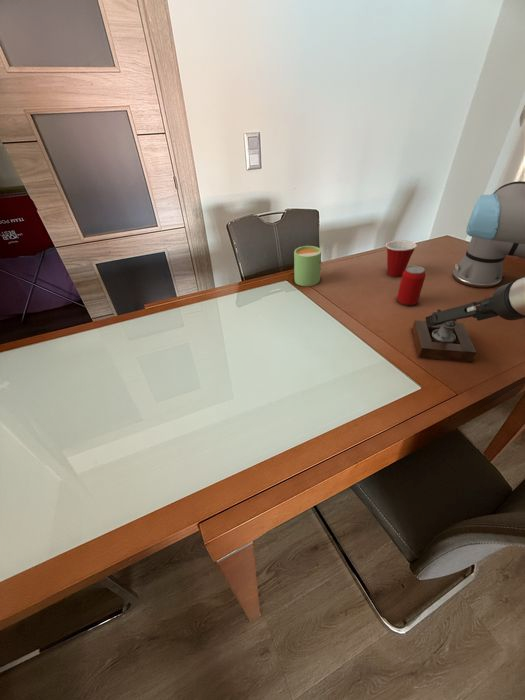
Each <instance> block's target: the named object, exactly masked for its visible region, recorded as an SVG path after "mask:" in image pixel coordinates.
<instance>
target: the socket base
mask: <svg viewBox="0 0 525 700" xmlns="http://www.w3.org/2000/svg"><path fill="white" fill-rule="evenodd" d="M455 324H456V327H455V328H453V331H452V333H454V334H455V336H456V339H455V341H453V342H452V343H438V342H432V338H433V337H432V332H433V331H434V330H437V329H440V327H441V324H440V325H436V326H433V327H428V328H427V323H426V320H416V319H415V320H414V321H413V324H412V328H411V331H412V336H413V341H414V345H415V348H416V352H417V357H418V358H419V359H431V360H443V361H444V360H445V361H453V362H463V363H464V362H465V363H473V360H474V358H475V356H476V354H477V349H476V348H475V347H474V344H473V341H472V339H471V337H470V335H469V332H468V330H467V328H466V326H465V324H464V322H456V323H455ZM431 337H432V338H431Z"/></svg>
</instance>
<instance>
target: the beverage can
mask: <svg viewBox="0 0 525 700" xmlns="http://www.w3.org/2000/svg"><path fill="white" fill-rule="evenodd" d="M425 279H426V272H425V268H424V267H422V266H421V265H416V264H415V265H412V264H411V265H407V267H406V269H405V271H404V272H403V275H402V276H401V278H400V283H399V288H398V292H397V296H396V300H397V301H398V302H399V303H400V304H402V305H404V306H411V305H416V304H417V303H418V302H419V299H420V295H421V292H422V289H423V286H424V282H425Z"/></svg>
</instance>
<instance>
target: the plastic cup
mask: <svg viewBox="0 0 525 700" xmlns="http://www.w3.org/2000/svg"><path fill="white" fill-rule="evenodd" d="M417 247H418V245H417V242H415V241H411V240H401V239H400V240H392V241H389V242H386V243H385V248H386V255H387V257H386V266H387V268H386V269H387V270H386V272H387V275H388V276H390V277H394V278H399V277H402V275H403V272H404V271H405V269H406V268H407V267H408V266H409V262H410V260H411V257H412V255H413V254H414V251H415V249H416V248H417Z"/></svg>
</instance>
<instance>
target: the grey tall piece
mask: <svg viewBox="0 0 525 700" xmlns="http://www.w3.org/2000/svg"><path fill="white" fill-rule="evenodd" d="M455 323H457V320H453V321H448V322H446V323H443V324H441V327H440V329H437V330H434V331H433V332H432V339H431V341H432V342H438V343H451V344H452V342H453V341H455V339H456V336H455V334H454V333H452V331H453V328H455V327H456V324H455Z"/></svg>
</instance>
